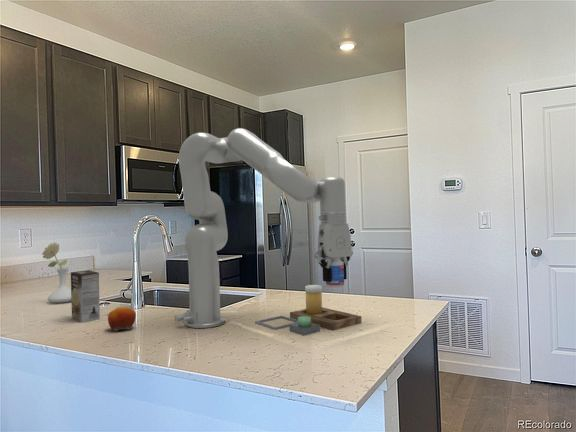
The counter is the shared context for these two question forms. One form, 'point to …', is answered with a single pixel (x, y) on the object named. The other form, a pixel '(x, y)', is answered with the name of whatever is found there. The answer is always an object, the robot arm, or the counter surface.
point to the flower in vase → (63, 291)
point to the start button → (304, 321)
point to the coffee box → (85, 295)
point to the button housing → (304, 328)
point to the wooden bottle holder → (329, 318)
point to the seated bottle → (313, 299)
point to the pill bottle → (336, 273)
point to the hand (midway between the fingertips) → (334, 279)
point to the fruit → (121, 318)
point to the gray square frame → (275, 319)
